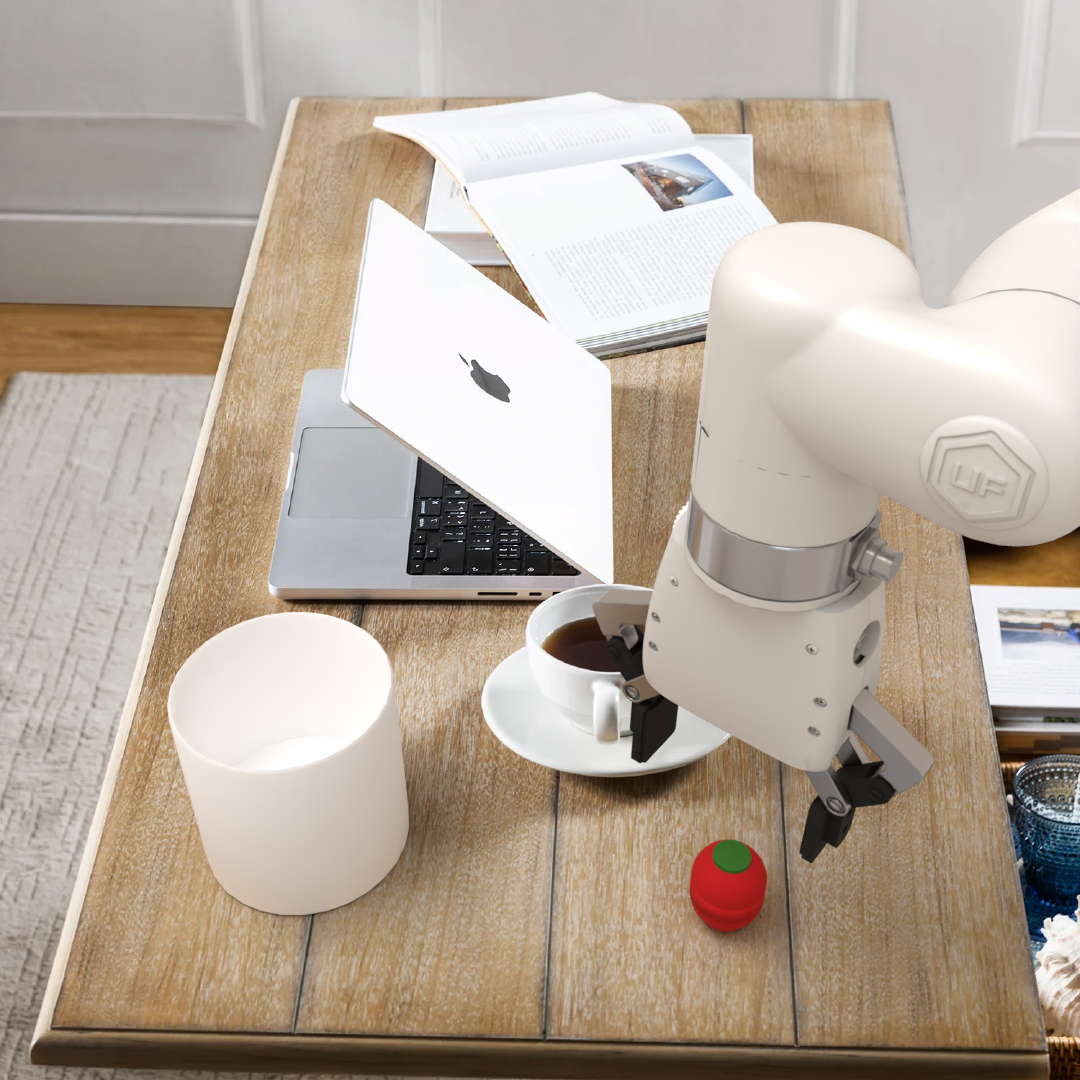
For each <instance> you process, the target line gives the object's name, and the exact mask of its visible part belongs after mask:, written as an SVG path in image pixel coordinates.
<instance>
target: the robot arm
mask: <svg viewBox="0 0 1080 1080" xmlns="http://www.w3.org/2000/svg"><path fill="white" fill-rule="evenodd" d="M707 314H708V315H707V323H706V325H707V326H706V334H705V344H704V352H703V353H704V354H703V363H702V372H701V381H700V382H701V384H700V389H699V390H700V391H699V402H698V410H697V419H696V427H695V428H696V430H695V437H694V446H693V447H694V448H693V456H692V457H693V458H692V466H691V475H690V484H689V485H690V486H689V497H688V501H689V504H688V509H687V510H686V511H685V512H684V513H683V514H682V515H681V517H680V518H679V519H678V521H677V523H676V525H675V527H674V529H673V528H672V529H673V532H672V531H671V534H670V536H669V539H668V542H667V544H666V547H665V550H664V552H663V555H662V558H661V561H660V565H659V568H658V571H657V574H656V577H655V580H654V584H653V588H652V590H643V589H642V590H640V589H619V588H618V589H616V588H610V589H608V590H607V591H605V592H604V593H603V594H602V595H601V596H600V597H599V598H598V599H596V600H595V601H594V603H592V607H591V608H592V611H593V614H594V616H595V619H596V621H597V624H598V626H599V628H600V631H601V633H602V636H605V638H606V640H607V641H606V642H605V643H604V650H605V652H606V653H607V656H608V658H610V660H611V662H612V663H613V664H614V666H615V667H616V669H617V671H619V673H620V675H621V676H622V678H623V679H624V681H625V682H624V683H623V684H622V685H621V692H622V693H623V695H624V697H625V698H626V699H627V700H628V701H630V702H631V706H630V719H629V731H630V732H632V739H631V750H630V751H631V752H630V759H632V760H633V761H635V762H636V763H638V764H642V763H643V764H646V763H647V762H648V761H649V760H650V759H651V758H652V757H653V755H655V754H656V752H657V751H658V750H659V749H660V748H661V747H662V746H663V745H664V744H665V743H666V742H667V741H668V739H669V738H670V737H671V736H672V735H673V734H674V733H675V731H676V728H677V720H678V712H679V707H680V708H682V709H684V710H685V711H687V712H689V713H691V714H692V715H694V716H696V717H698V718H700V719H701V720H703V721H705V722H707V723H709V724H711V725H713V726H714V727H716V728H718V729H720V730H721V731H723V732H725V733H727V734H729V735H731V736H732V737H734V738H736V739H738V740H740V741H741V742H743V743H745V744H747V745H749V746H751V747H753V748H754V749H757V750H758V751H760V752H762V753H764V754H765V755H767V756H769V757H771V758H773V759H775V760H777V761H779V762H780V763H781V762H782V763H783V764H785V765H787V766H790V767H791V768H794V769H797V770H800V771H801V770H802V771H804V772H805V774H806V776H807V777H808V779H809V781H810V783H811V785H812V787H813V788H814V790H815V791H816V793H817V795H816V797H815V798H814V799H813V801H812V802H811V804H810V805H809V808H808V812H807V815H806V820H805V825H804V829H803V832H802V833H803V834H802V838H801V842H800V846H799V850H798V854H799V855H801V859H802V860H804V861H806V862H808V863H810V865H811V864H813V863H814V862H815V860H816V859H817V858H818V856H819V855H820V854H821V852H822V851H823V850H824V848H825V847H826V846H827V845H829V846H831V847H833V848H834V849H838V848H839V847H840V846H841V844H842V843H843V842H844V840H845V838H846V837H847V836H848V834H849V831H850V829H851V827H852V824H853V821H854V818H855V817H854V816H855V813H856V810H857V808H864V807H872V806H879V805H880V806H881V805H885V804H888V803H889V802H890V801H891V800H892V798H894V797H896V796H897V795H901V794H903V793H905V792H906V791H908V790H909V789H911V788H913V787H915V786H916V785H918V784H920V783H921V782H922V781H923V780H924V779H925V777H926V775H927V774H928V773H929V771H930V769H932V767H933V765H934V764H935V757H934V756H933V754H932V753H931V752H930V751H929V749H927V747H925V746H924V745H923V743H921V742H920V741H919V740H918V739H917V738H916V737H915V736H914V735H913V733H911V732H910V731H909V730H908V729H907V728H906V727H905V726H904V725H903V724H902V723H901V722H900V721H899V720H898V719H897V718H896V717H895V716H894V715H893V714H892V713H891V712H890V711H889V709H887V708H886V707H885V706H884V705H883V704H882V703H881V702H880V701H879V700H878V699H877V698H876V696H877V691H878V687H879V685H878V684H879V679H880V672H881V666H882V658H883V650H884V640H885V630H886V629H885V628H886V583H888V584H889V583H891V582H892V581H893V580H894V578H895V577H896V576H897V574H898V572H899V570H900V567H901V566H902V563H903V560H904V552H903V551H901V550H899V549H896V548H894V547H892V546H890V545H889V544H888V541H886V540H884V539H882V536H881V530H880V525H881V520H882V516H883V511H880V510H879V504H880V499H881V496H882V495H884V496H885V497H887V498H888V499H891V500H892V501H893V502H895V503H897V504H899V505H901V506H903V507H904V508H906V509H908V510H909V511H911V512H913V513H915V514H916V515H918V516H920V517H922V518H924V519H926V520H928V521H930V522H932V523H933V524H936V525H938V526H940V527H942V528H944V529H946V530H948V531H951V532H953V533H956V534H959V535H961V536H963V537H967V538H969V539H972V540H974V541H979V542H983V543H988V544H991V545H997V546H1007V547H1028V546H1029V547H1030V546H1037V545H1040V544H1045V543H1049V542H1052V541H1056V540H1057V539H1060V538H1062V537H1064V536H1066V535H1068V534H1071V533H1072V532H1073V531H1075V530H1076V529H1077V528H1079V527H1080V187H1079V188H1078V189H1077V188H1076V189H1075V190H1074V191H1071V192H1070V193H1068V194H1066V195H1064V196H1063V197H1061V198H1059V199H1058V200H1056V201H1054V202H1052V203H1050V204H1048V205H1047V206H1045V207H1043V208H1041V209H1040V210H1037V211H1036V212H1033V214H1031V215H1029V216H1028V217H1026V218H1024V219H1023V220H1021V221H1020V222H1018V223H1017V224H1014V226H1012V227H1011V228H1009V229H1007V231H1005V232H1004V233H1002V234H1001V235H1000V236H999V237H997V238H996V239H995V240H994V241H992V242H991V243H990V244H989V245H988V246H987V247H986V248H985V249H984V250H983V251H982V252H981V253H980V254H978V256H977V257H976V258H975V259H974V260H973V261H972V262H971V264H970V265H969V267H968V268H967V269H966V270H965V272H964V274H963V275H962V276H961V278H960V280H958V281H957V284H956V285H955V287H954V288H953V290H952V291H951V292H950V295H949V296H948V297H947V299H946V301H945V303H944V304H943V306H942V308H933V307H930V306H928V305H927V304H926V302H925V300H924V291H923V287H922V282H921V277H920V274H919V272H918V271H917V269H916V268H915V265H914V263H913V262H912V261H911V259H910V258H909V257H908V256H907V255H906V254H905V253H904V252H903V251H902V250H901V249H899V248H898V247H897V246H895V245H894V244H893V243H891V242H890V241H888V240H886V239H885V238H882V237H880V236H879V235H876V234H874V233H871V232H869V231H867V230H864V229H861V228H857V227H853V226H851V225H850V226H849V225H845V224H839V223H832V222H824V221H793V222H790V221H789V222H783V223H777V224H772V225H768V226H765V227H762V228H760V229H758V230H754V231H753V232H751V233H749V234H747V235H744V236H743V237H742V238H740V239H739V240H737V241H736V242H735V243H734V244H733V245H731V247H730V248H729V249H728V250H727V251H726V253H725V254H724V255H723V256H722V258H721V260H720V262H719V264H718V266H717V268H716V271H715V272H714V276H713V279H712V286H711V291H710V296H709V306H708V313H707ZM639 626H645V628H644V633H643V632H642V630H641V629H640V628H639ZM858 738H859V739H860V740H861V741H862V742H863V743H864V744H865V745H866V746H867V747H868V748H869V749H870V750H871V751H872V752H873V754H875V755H876V756H877V757H878V758H879V759H880V760H878V761H872V762H871V761H870V760H869V759H870V758H869V757H868V756H867V754H866V752H865V750H864V749H863V747H862V744H861V743H860V741H859V740H858ZM835 756H836V758H837V760H838V762H839V763H840V765H841V767H839V768H838V769H837V770H836V768H835V767H834V765H833V764H832V763H833V760H834V757H835Z"/></svg>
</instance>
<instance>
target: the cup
mask: <svg viewBox="0 0 1080 1080" xmlns="http://www.w3.org/2000/svg"><path fill="white" fill-rule="evenodd" d="M396 690H397V689H396V680H395V672H394V668H393V665H392V662H391V659H390V656H389V654H388V653H387V652H386V650H385V648H384V647H383V646H382V644H381V643H380V642H379V641H378V640H377V639H376V638H375V637H374V636H372V635H371V634H370V633H369V632H368V631H366V630H365V629H364V628H362V627H360V626H357V625H356V624H354V623H352V622H351V621H348V620H345V619H342V618H339V617H335V616H333V615H329V614H325V613H324V614H323V613H317V612H309V611H293V612H292V611H286V612H279V613H278V612H277V613H273V614H272V613H271V614H265V615H261V616H257V617H254V618H252V619H247V620H243V621H241V622H239V623H237V624H234V625H232V626H230V627H228V628H225V629H223V630H222V631H220V632H219V633H217V634H215V635H214V636H212V637H211V638H209V639H207V640H206V641H204V643H202V644H201V645H200V646H199V647H198V648H197V649H196V650H194V652H192V653H191V654H190V655H189V656H188V658H187V659H186V660H185V662H184V663H183V664H182V666H181V667H180V668H179V669H178V671H177V673H176V674H175V676H174V679H173V681H172V682H171V686H170V688H169V693H168V698H167V704H166V709H167V714H168V722H169V726H170V730H171V734H172V737H173V741H174V745H175V749H176V752H177V756H178V759H179V764H180V767H181V771H182V774H183V777H184V781H185V784H186V788H187V792H188V796H189V800H190V803H191V807H192V811H193V815H194V817H195V821H196V824H197V829H198V833H199V836H200V839H201V844H202V848H203V850H204V854H205V857H206V860H207V863H208V865H209V867H210V870H211V872H212V874H213V876H214V878H215V880H216V881H217V882H218V883H219V885H220V886H221V887H222V888H223V889H224V891H225V892H226V893H227V894H229V895H230V896H231V897H233V898H234V899H236V900H237V901H239V902H240V903H241V904H243V905H245V906H248V907H250V908H253V909H255V910H258V911H260V912H264V913H269V914H274V915H280V916H306V915H313V914H317V913H323V912H328V911H331V910H333V909H336V908H339V907H342V906H345V905H347V904H350V903H351V902H353V901H355V900H357V899H358V898H360V897H362V896H363V895H365V894H367V893H368V892H370V891H371V890H372V889H374V888H375V887H376V886H377V885H379V883H380V882H382V881H383V880H384V879H385V878H386V877H387V875H388V874H389V873H390V872H391V871H392V869H393V868H394V867H395V865H396V864H397V863H398V861H399V859H400V857H401V855H402V853H403V851H404V848H405V846H406V844H407V839H408V833H409V831H410V819H409V801H408V800H409V799H408V792H407V782H406V774H405V764H404V754H403V745H402V736H401V728H400V727H401V725H400V717H399V709H398V700H397V691H396Z"/></svg>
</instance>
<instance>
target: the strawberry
mask: <svg viewBox="0 0 1080 1080" xmlns="http://www.w3.org/2000/svg"><path fill="white" fill-rule="evenodd" d="M767 887H768V873H767V869H766V865H765V864H764V861H763V859H762V858H761V856H760V854H759V853H758V852H757V851H756V850H755V849H754V848H753V847H751V846H750V845H748V844H747V843H744V842H743V841H740V840H736V839H729V838H727V839H725V838H724V839H718V840H716V841H713V842H711V843H709V844H708V845H706V846H704V847H703V848H702V849H701V850H700V851H699V853H698V854H697V856H696V857H695V859H694V861H693V864H692V867H691V871H690V879H689V898H690V902H691V905H692V907H693V910H694V911H695V913H696V914H697V916H698V917H699V918H700V920H702V921H703V922H704V923H705V924H706V925H708V926H709V927H710V928H711V929H713V930H714V931H715V930H716V931H717V932H721V933H730V932H731V933H732V932H734V931H737V930H740V929H742V928H745V927H747V926H748V925H750V924H751V923H752V922H753V921H754V920H755V919H757V917H758V916H759V914H760V912H761V911H762V908H763V906H764V903H765V898H766V893H767Z"/></svg>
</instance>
